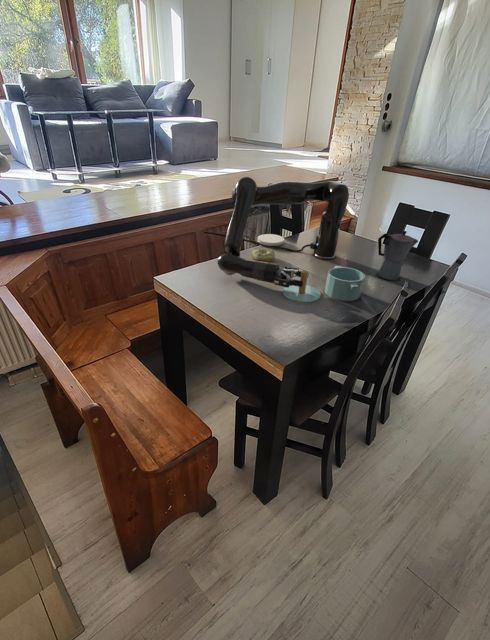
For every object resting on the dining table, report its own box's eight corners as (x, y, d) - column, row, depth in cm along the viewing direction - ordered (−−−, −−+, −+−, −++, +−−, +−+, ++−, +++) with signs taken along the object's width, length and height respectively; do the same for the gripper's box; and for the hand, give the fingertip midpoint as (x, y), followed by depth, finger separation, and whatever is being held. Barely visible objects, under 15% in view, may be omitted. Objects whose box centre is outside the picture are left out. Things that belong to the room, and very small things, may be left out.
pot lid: (287, 304, 135) (290, 280, 129) (278, 287, 147) (281, 264, 141) (325, 303, 136) (330, 279, 131) (314, 286, 148) (318, 264, 143)
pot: (333, 305, 135) (337, 285, 130) (318, 283, 150) (321, 264, 145) (368, 304, 136) (373, 284, 131) (349, 283, 151) (354, 264, 146)
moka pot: (408, 282, 153) (424, 235, 141) (370, 279, 155) (383, 232, 143) (403, 273, 160) (418, 228, 149) (367, 270, 163) (379, 225, 151)
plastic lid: (251, 243, 189) (252, 238, 188) (267, 236, 198) (268, 232, 196) (273, 249, 182) (273, 244, 180) (288, 243, 190) (289, 238, 189)
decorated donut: (253, 263, 167) (254, 255, 164) (251, 255, 175) (251, 247, 173) (276, 263, 167) (276, 255, 165) (272, 254, 176) (272, 247, 174)
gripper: (270, 274, 150) (308, 281, 145) (258, 287, 140) (299, 296, 134) (272, 257, 146) (311, 264, 141) (260, 269, 136) (302, 277, 130)
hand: (305, 279), depth 138 cm, fingers open, 8 cm apart
